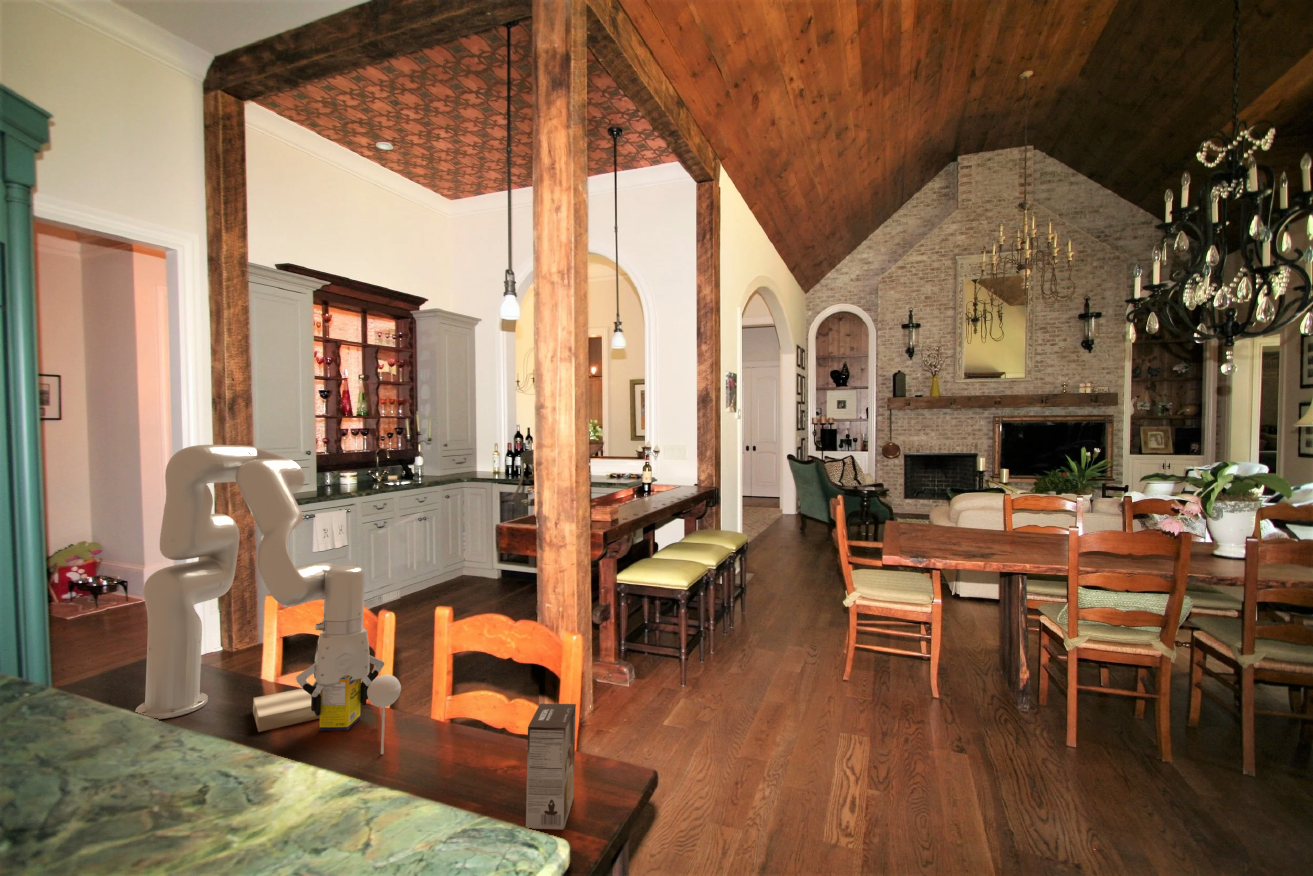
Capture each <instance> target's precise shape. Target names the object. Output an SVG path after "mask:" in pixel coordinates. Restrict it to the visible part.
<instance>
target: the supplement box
mask: <svg viewBox="0 0 1313 876" xmlns="http://www.w3.org/2000/svg"><path fill="white" fill-rule="evenodd" d="M361 683H362V680H361V679H358V680H352V676H348V677H344V678H341V679H339V682H338V683H337V684H333V685H327V686H324V687H323V688H322V690H321V691H320V693H319V694H320V696H321V714H320V718H319V731H324V732H325V731H326V732H327V731H332V732H333V731H349V730H350V729H351V728H352V727H353V726H354V725H355V724H356V723H357V722H358V721H359V720H360V718H361V705H362V704H361Z"/></svg>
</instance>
